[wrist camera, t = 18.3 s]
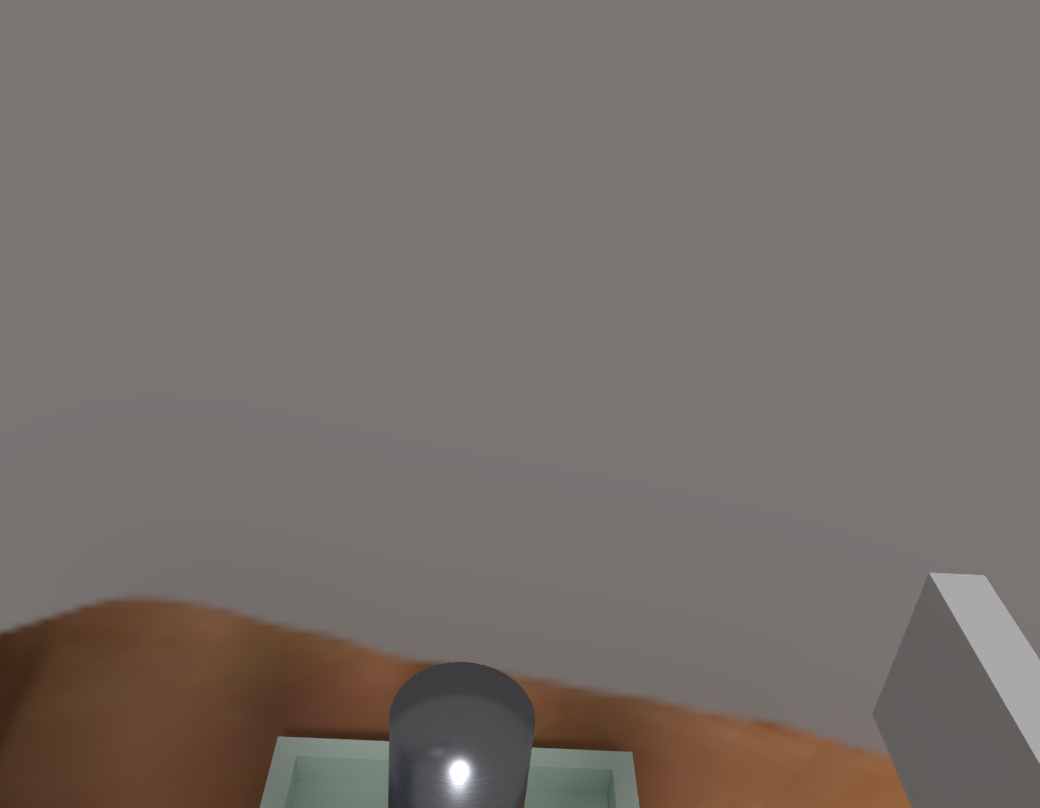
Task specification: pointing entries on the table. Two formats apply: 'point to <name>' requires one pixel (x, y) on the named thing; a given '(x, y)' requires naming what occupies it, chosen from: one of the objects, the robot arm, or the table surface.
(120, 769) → the table surface
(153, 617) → the table surface
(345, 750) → the tray
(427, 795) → the pin
